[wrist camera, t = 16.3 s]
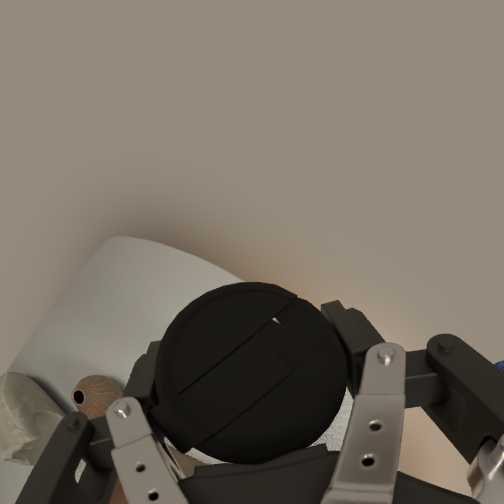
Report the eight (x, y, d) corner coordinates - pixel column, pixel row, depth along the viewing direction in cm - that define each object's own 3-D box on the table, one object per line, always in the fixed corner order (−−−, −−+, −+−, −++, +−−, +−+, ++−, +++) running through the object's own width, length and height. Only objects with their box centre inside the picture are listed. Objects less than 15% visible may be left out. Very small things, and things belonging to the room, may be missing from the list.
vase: (105, 369, 40) (72, 360, 32) (139, 394, 38) (108, 392, 30) (87, 403, 37) (52, 400, 29) (120, 430, 35) (86, 434, 28)
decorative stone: (33, 364, 40) (-29, 343, 27) (95, 427, 36) (28, 427, 22) (12, 411, 36) (-48, 401, 23) (70, 476, 31) (6, 487, 18)
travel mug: (222, 385, 27) (107, 357, 9) (275, 340, 28) (258, 234, 10) (266, 434, 24) (227, 511, 6) (320, 387, 26) (396, 368, 8)
